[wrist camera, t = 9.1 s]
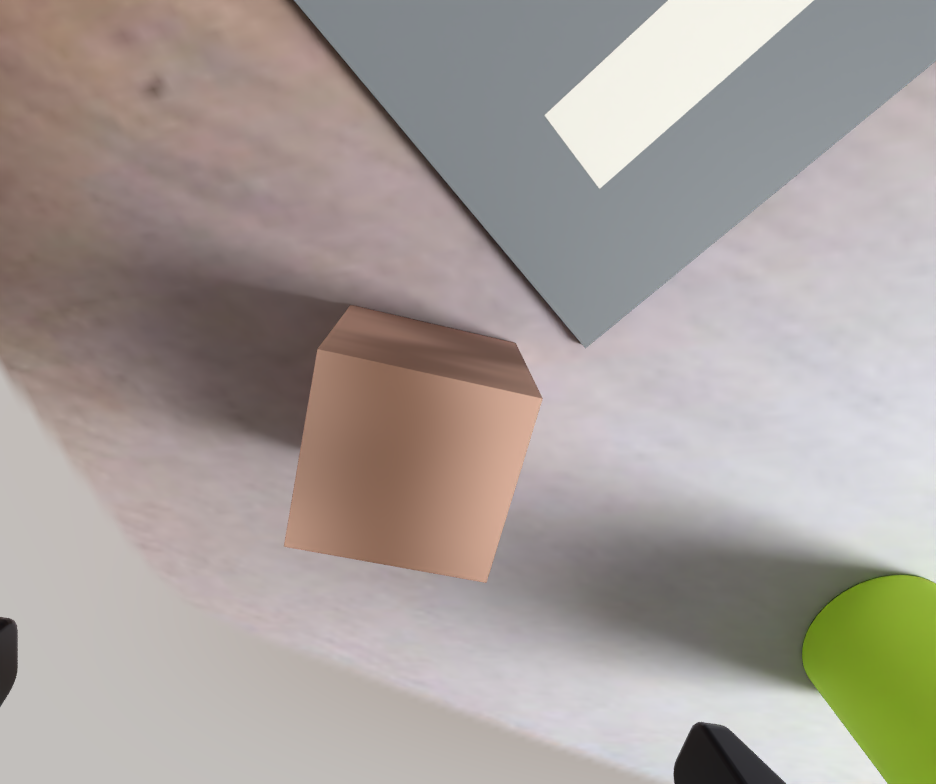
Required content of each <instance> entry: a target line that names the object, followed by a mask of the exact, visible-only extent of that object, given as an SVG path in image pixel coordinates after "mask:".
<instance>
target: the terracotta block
mask: <svg viewBox="0 0 936 784" xmlns="http://www.w3.org/2000/svg"><path fill="white" fill-rule="evenodd" d="M542 399H543V398H542V396H541V394H540V392H539V390H538V388H537V386H536V384H535V382H534V380H533V378H532V376H531V374H530V372H529V370H528V368H527V366H526V363H525V361H524V359H523V357H522V355H521V353H520V351H519V349H518V347H517V345H516V343H513V342H509V341H505V340H500V339H496V338H492V337H488V336H483V335H479V334H475V333H470V332H466V331H462V330H457V329H453V328H449V327H444V326H440V325H436V324H431V323H427V322H423V321H418V320H414V319H410V318H405V317H401V316H397V315H392V314H388V313H384V312H380V311H375V310H371V309H367V308H362V307H358V306H354V305H350V306H349V308H348V309H347V310H346V312H345V313H344V314H343V316H342V317H341V318H340V320H339V321H338V322H337V324H336V325H335V326H334V328H333V329H332V330H331V332H330V333H329V334H328V336H327V337H326V338H325V340H324V341H323V342H322V344H321V345H320V346H319V348H318V349H317V354H316V360H315V366H314V372H313V378H312V384H311V390H310V396H309V401H308V407H307V413H306V419H305V425H304V431H303V437H302V443H301V449H300V454H299V460H298V466H297V472H296V478H295V484H294V490H293V496H292V502H291V507H290V513H289V519H288V525H287V531H286V537H285V543H284V547H289V548H295V549H300V550H306V551H311V552H317V553H323V554H328V555H334V556H339V557H345V558H351V559H356V560H362V561H367V562H373V563H378V564H384V565H390V566H395V567H401V568H406V569H412V570H418V571H423V572H429V573H434V574H440V575H446V576H451V577H457V578H462V579H468V580H474V581H479V582H485V583H486V582H487V579H488V576H489V573H490V569H491V566H492V563H493V560H494V556H495V553H496V550H497V546H498V543H499V540H500V537H501V533H502V530H503V527H504V523H505V520H506V517H507V514H508V510H509V507H510V504H511V501H512V497H513V494H514V491H515V487H516V484H517V481H518V478H519V474H520V471H521V468H522V464H523V461H524V458H525V455H526V451H527V448H528V445H529V442H530V438H531V435H532V432H533V428H534V425H535V422H536V419H537V415H538V412H539V409H540V405H541V402H542Z"/></svg>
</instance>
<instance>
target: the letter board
mask: <svg viewBox="0 0 936 784" xmlns="http://www.w3.org/2000/svg"><path fill="white" fill-rule="evenodd" d="M294 1H295V2H296V3H297V5H298V6H299V7H300V8H301V9H302V11H303V12H304V13H305V14H306V15H307V17H308V18H309V19H310V20H311V21H312V22H313V24H314V25H315V26H316V27H317V28H318V30H319V31H320V32H321V33H322V34H323V36H324V37H325V38H326V39H327V40H328V42H329V43H330V44H331V45H332V46H333V48H334V49H335V50H336V51H337V52H338V54H339V55H340V56H341V57H342V58H343V60H344V61H345V62H346V63H347V64H348V65H349V67H350V68H351V69H352V70H353V71H354V73H355V74H356V75H357V76H358V77H359V79H360V80H361V81H362V82H363V83H364V85H365V86H366V87H367V88H368V89H369V91H370V92H371V93H372V94H373V95H374V97H375V98H376V99H377V100H378V101H379V103H380V104H381V105H382V106H383V107H384V108H385V110H386V111H387V112H388V113H389V114H390V116H391V117H392V118H393V119H394V120H395V122H396V123H397V124H398V125H399V126H400V128H401V129H402V130H403V131H404V132H405V134H406V135H407V136H408V137H409V138H410V140H411V141H412V142H413V143H414V144H415V145H416V147H417V148H418V149H419V150H420V151H421V153H422V154H423V155H424V156H425V157H426V159H427V160H428V161H429V162H430V163H431V165H432V166H433V167H434V168H435V169H436V171H437V172H438V173H439V174H440V175H441V177H442V178H443V179H444V180H445V181H446V183H447V184H448V185H449V186H450V187H451V188H452V190H453V191H454V192H455V193H456V194H457V196H458V197H459V198H460V199H461V200H462V202H463V203H464V204H465V205H466V206H467V208H468V209H469V210H470V211H471V212H472V214H473V215H474V216H475V217H476V218H477V220H478V221H479V222H480V223H481V224H482V226H483V227H484V228H485V229H486V230H487V231H488V233H489V234H490V235H491V236H492V237H493V239H494V240H495V241H496V242H497V243H498V245H499V246H500V247H501V248H502V249H503V251H504V252H505V253H506V254H507V255H508V257H509V258H510V259H511V260H512V261H513V263H514V264H515V265H516V266H517V267H518V269H519V270H520V271H521V272H522V273H523V274H524V276H525V277H526V278H527V279H528V280H529V282H530V283H531V284H532V285H533V286H534V288H535V289H536V290H537V291H538V292H539V294H540V295H541V296H542V297H543V298H544V300H545V301H546V302H547V303H548V304H549V306H550V307H551V308H552V309H553V310H554V312H555V313H556V314H557V315H558V316H559V317H560V319H561V320H562V321H563V322H564V323H565V325H566V326H567V327H568V328H569V329H570V331H571V332H572V333H573V334H574V335H575V337H576V338H577V339H578V340H579V341H580V343H581V344H582V345H583V346H584V347H585V348H587V347H588V346H589V345H590V344H592V343H593V342H594V341H595V340H596V339H598V338H599V337H600V336H601V335H602V334H604V333H605V332H606V331H607V330H609V329H610V328H611V327H612V326H613V325H615V324H616V323H617V322H618V321H620V320H621V319H622V318H623V317H624V316H626V315H627V314H628V313H629V312H631V311H632V310H633V309H634V308H635V307H637V306H638V305H639V304H640V303H641V302H643V301H644V300H645V299H646V298H648V297H649V296H650V295H651V294H652V293H654V292H655V291H656V290H657V289H659V288H660V287H661V286H662V285H663V284H665V283H666V282H667V281H668V280H669V279H671V278H672V277H673V276H674V275H676V274H677V273H678V272H679V271H680V270H682V269H683V268H684V267H685V266H687V265H688V264H689V263H690V262H691V261H693V260H694V259H695V258H696V257H698V256H699V255H700V254H701V253H702V252H704V251H705V250H706V249H707V248H708V247H710V246H711V245H712V244H713V243H715V242H716V241H717V240H718V239H719V238H721V237H722V236H723V235H724V234H726V233H727V232H728V231H729V230H730V229H732V228H733V227H734V226H735V225H737V224H738V223H739V222H740V221H741V220H743V219H744V218H745V217H746V216H747V215H749V214H750V213H751V212H752V211H754V210H755V209H756V208H757V207H758V206H760V205H761V204H762V203H763V202H765V201H766V200H767V199H768V198H769V197H771V196H772V195H773V194H774V193H776V192H777V191H778V190H779V189H780V188H782V187H783V186H784V185H785V184H786V183H788V182H789V181H790V180H791V179H793V178H794V177H795V176H796V175H797V174H799V173H800V172H801V171H802V170H804V169H805V168H806V167H807V166H808V165H810V164H811V163H812V162H813V161H815V160H816V159H817V158H818V157H819V156H821V155H822V154H823V153H824V152H825V151H827V150H828V149H829V148H830V147H832V146H833V145H834V144H835V143H836V142H838V141H839V140H840V139H841V138H843V137H844V136H845V135H846V134H847V133H849V132H850V131H851V130H852V129H854V128H855V127H856V126H857V125H858V124H860V123H861V122H862V121H863V120H864V119H866V118H867V117H868V116H869V115H871V114H872V113H873V112H874V111H875V110H877V109H878V108H879V107H880V106H882V105H883V104H884V103H885V102H886V101H888V100H889V99H890V98H891V97H893V96H894V95H895V94H896V93H897V92H899V91H900V90H901V89H902V88H903V87H905V86H906V85H907V84H908V83H910V82H911V81H912V80H913V79H914V78H916V77H917V76H918V75H919V74H921V73H922V72H923V71H924V70H925V69H927V68H928V67H929V66H930V65H932V64H933V63H934V62H935V61H936V0H294Z"/></svg>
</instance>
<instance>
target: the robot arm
mask: <svg viewBox="0 0 936 784" xmlns="http://www.w3.org/2000/svg"><path fill="white" fill-rule="evenodd" d="M17 631H18V630H17V625H16V623H15V621H14V620H12V619H10V618H3V617H0V706H1V705H2V703H3V702H4V700H5V699H6V697H7V695H8V694H9V692H10V690H11V688H12V686H13V684H14V682H15V679H16V675H17V668H18V665H17V664H18V662H17V661H18V660H17V658H18V652H17V651H18V648H17V647H18V643H17V642H18V638H17V637H18V635H17V633H18V632H17ZM674 783H675V784H786V783H785V782H784V781H783V780H782V779H781V778H780V777H779V776H778V775H777V774H776V773H774V772H773V771H772V770H771V769H770V768H769V767H768V766H767V765H766V764H765V763H764V762H763V761H762V760H761V759H760V758H759V757H758V756H757V755H756V754H755V753H754V752H753V751H751V750H750V749H749V748H748V747H747V746H746V745H745V744H744V743H743V742H742V741H741V740H740V739H739V738H738V737H737V736H736V735H735V734H734V733H733V732H732V731H730V730H729V729H728V728H727V727H725V726H722V725H717V724H711V723H704V722H698V723H696V724H695V725H693V726H692V728H691V730H690V732H689V734H688V736H687V738H686V740H685V742H684V745H683V747H682V749H681V751H680V753H679V755H678V757H677V759H676V762H675V766H674Z"/></svg>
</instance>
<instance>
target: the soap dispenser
mask: <svg viewBox="0 0 936 784" xmlns="http://www.w3.org/2000/svg"><path fill="white" fill-rule="evenodd" d="M802 660H803V666H804V669H805V672H806V674H807V676H808V677H809V679H810V680H811V682H812V683H813V684H814V686H815V687H816V688H817V690H818V691H819V692H820V694H821V695H822V696H823V698H824V699H825V700H826V702H827V703H828V704H829V706H830V707H831V708H832V710H833V711H834V712H835V714H836V715H837V716H838V718H839V719H840V720H841V722H842V723H843V724H844V726H845V727H846V728H847V730H848V731H849V732H850V734H851V735H852V736H853V738H854V739H855V740H856V742H857V743H858V744H859V746H860V747H861V748H862V750H863V751H864V752H865V754H866V755H867V756H868V758H869V759H870V760H871V762H872V763H873V764H874V766H875V767H876V768H877V770H878V771H879V773H880V774H881V775H882V777H883V778H884V779H885V781H886V782H887V783H888V784H936V583H934V582H932V581H929V580H927V579H924V578H921V577H916V576H910V575H891V576H884V577H879V578H875V579H871V580H868V581H865V582H863V583H860V584H858V585H856V586H854V587H852V588H850V589H848V590H846V591H845V592H843V593H842V594H840V595H839V596H837V597H836V598H835V599H833V600H832V601H831V602H830V603H829V604H827V605H826V606H825V607H824V608H823V609H822V611H821V612H820V613H819V614H818V615H817V617H816V618H815V619H814V621H813V622H812V624H811V626H810V627H809V629H808V631H807V634H806V636H805V639H804V643H803V649H802Z"/></svg>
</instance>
